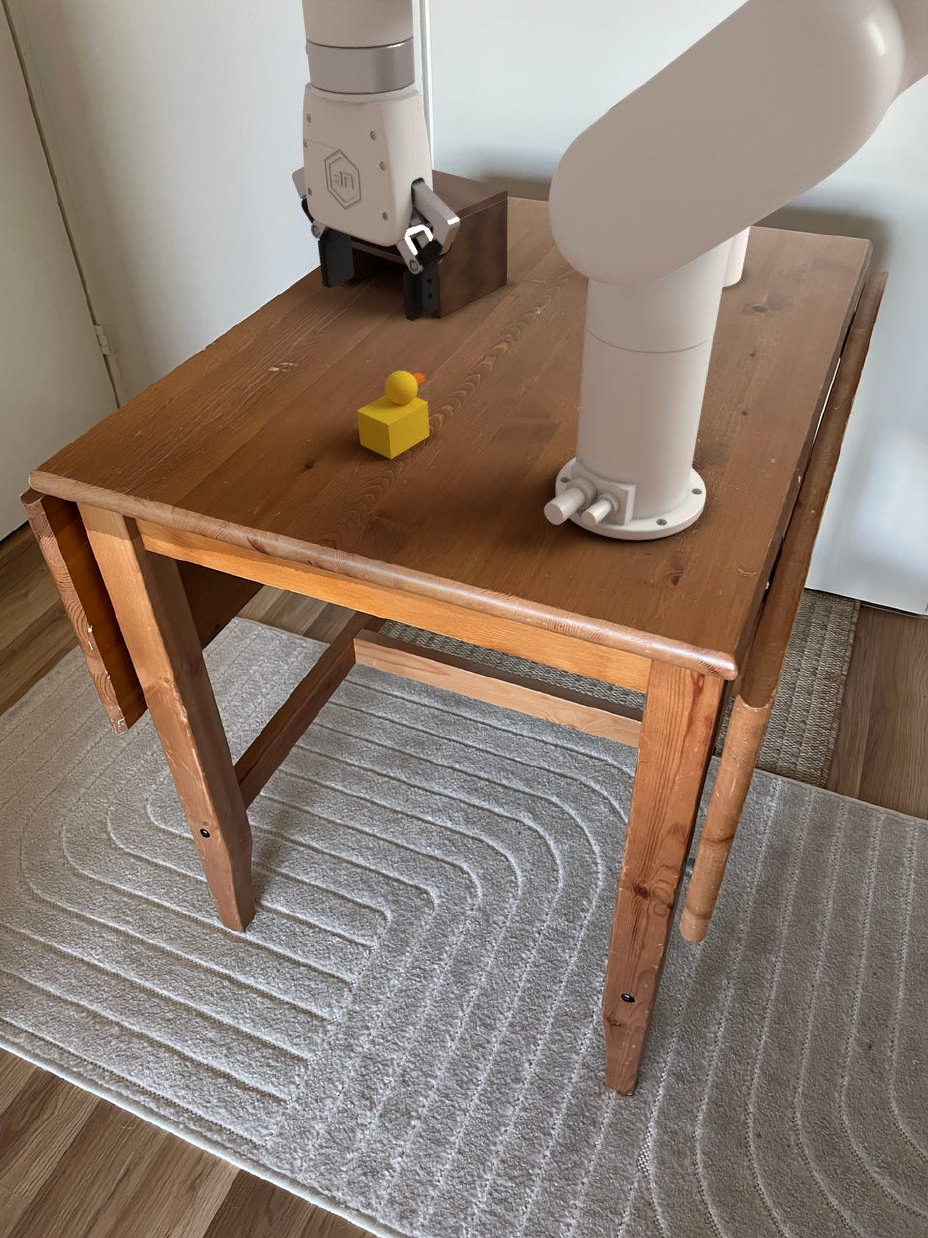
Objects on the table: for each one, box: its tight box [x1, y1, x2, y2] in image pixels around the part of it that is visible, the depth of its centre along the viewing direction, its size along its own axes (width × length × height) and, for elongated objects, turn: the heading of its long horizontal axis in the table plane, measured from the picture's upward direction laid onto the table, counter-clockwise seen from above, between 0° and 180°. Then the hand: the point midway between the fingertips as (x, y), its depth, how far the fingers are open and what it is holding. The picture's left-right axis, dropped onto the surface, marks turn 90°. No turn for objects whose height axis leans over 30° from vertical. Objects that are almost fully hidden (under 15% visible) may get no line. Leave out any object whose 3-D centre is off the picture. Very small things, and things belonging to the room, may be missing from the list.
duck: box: [356, 370, 430, 460], centre depth 85 cm, size 7×4×6 cm, turn 139°
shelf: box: [343, 168, 509, 319], centre depth 109 cm, size 12×16×11 cm
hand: (378, 297), depth 78 cm, fingers open, 9 cm apart
